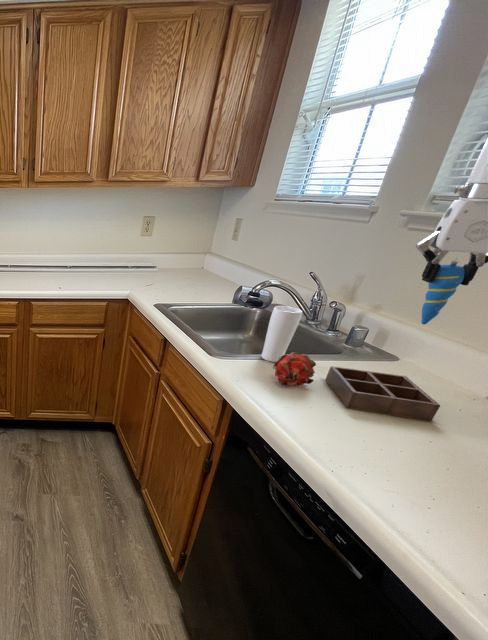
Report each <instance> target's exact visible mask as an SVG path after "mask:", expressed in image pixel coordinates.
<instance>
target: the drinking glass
mask: <svg viewBox="0 0 488 640" xmlns="http://www.w3.org/2000/svg"><path fill="white" fill-rule="evenodd" d="M302 315H303V310H302V309H300V308H297V307H293V306H287V305H276V306H274V307H273V310H272V312H271V315H270V317H269V321H268V325H267V330H266V335H265V340H264V343H263V348H262V352H261V353H260V354H261V355H260V356H261V358H262V359H263V360H265V361H267V362H270V363H276V362H277V361H278V360H279V357H281V356H283V355H286V352H287V350H288V349H289V346H290V344H291V342H292V340H293V338H294V335H295V334H296V331H297V329H298V327H299V325H300V322H301V319H302Z"/></svg>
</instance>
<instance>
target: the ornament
mask: <svg viewBox="0 0 488 640" xmlns="http://www.w3.org/2000/svg"><path fill="white" fill-rule="evenodd" d="M457 259H458V257H457V258H455V260H451V263H450V264H440V265H441V267H440V269H439V271H438V273H437V275H436V277H435V279H434V281H433V282H432V283H428V284H427V285H428V290H427V291H426V292H425V301H424V302H423V304H422V307H421V321H420V322H421V325H427V324H428V323H430V321H431V320H433V319H435V318H436V317H437V316H438V315H439V314H440V312H441V310H442V309H443V308H444V307H445V306H446V305H447V303H448V300H449V299H450V298H451V297H452V296H453V295H454V294H456V292H457V288H458V287H459V286H460V285H461V283H462V281H463V279H464V275H465V270H464V268H463V266H461V265H458V263H459V261H457Z"/></svg>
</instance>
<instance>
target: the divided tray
mask: <svg viewBox="0 0 488 640" xmlns="http://www.w3.org/2000/svg"><path fill="white" fill-rule="evenodd" d="M324 381H325V382H326V383H327V385H328V386H329V387H330V389H331V390H332V391H333V392H334V394H335V395H336V396H337V398H338V399H339V400H340V402H342V404H343V405H344V407H345V408H347V409H351V410H357V411H364V412H369V413H370V412H371V413H376V414H382V415H389V416H395V417H402V418H406V419H407V418H408V419H414V420H420V421H425V422H432V421H433V419H434V418H435V416H436V414H437V413H438V411H439V409H440V407H441V404H440V403H438V402H437V401H436V400H435V399H434V398H432V397H431V396H430V395H429V394H427V393H426V392H425V391H424V390H423V389H422V388H420V386H418V385H417V384H416V383H414V382H413V381H412V380H411V379H410V378H408V376H406V375H401V374H400V375H399V374H392V373H385V372H379V371H370V370H364V369H363V370H362V369H355V368H348V367H341V366H335V365H331V366H330V368H329V370H328V372H327V374H326V377H325V379H324Z"/></svg>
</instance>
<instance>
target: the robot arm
mask: <svg viewBox="0 0 488 640" xmlns="http://www.w3.org/2000/svg"><path fill="white" fill-rule="evenodd" d="M470 172H471V173H470V175H469V176H468V179H467V181H466V183H465V182H464V185H462V186H456V187H455V189H454V191H453V194H455V195H459V196H458V199H454V200H453V201H452V203H451V204H450V206H448V207H447V209H446V211H445V213H444V214H443V216H442V217H441V219H440V220H439V222H438V223H437V226H436V227H435V229H434V231H433V233H432V234H431V235H429V236H427V237H426V238H424V239H423V240H421V241H419V242H418V243H417V244H416V245H415V247H416V249H417V250H418V251H419V252H420V253H421V254H422V256H423V257H424V259H425V261H426V262H427V263H426V265H425V268H424V269H423V271H422V273H421V277H422V278H421V280H422V281H423V282H426V283H428V284H429V283H432V282H433V281H434V279H435V277H436V275H437V273H438V271H439V269H440V267H441V265H442V264H440V262H441V261H442V260H443V259H445V256H446V255H447V254H448V253H449V252H454V253H455V252H456V253H469V257H468V262H467V263H465V264H464V265H463V266H462V267H463V268H464V270H465V275H464V279H463V281H462V283H461V284H460V285H462V286H468V285H470V282H471V281H473V279H474V278H475V276H476V274H477V272H478V271H479V270H478V269H479V268H481V267H483V266H485V264H487V263H488V137H487V138H486V141H485V143H484V145H483V147H482V149H481V151H480V154H479V155H478V158H477V159H476V162H475V164H474V166H473V168H472V169H471V171H470ZM430 247H431V248H434V249H433V250H432V249H430Z"/></svg>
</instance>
